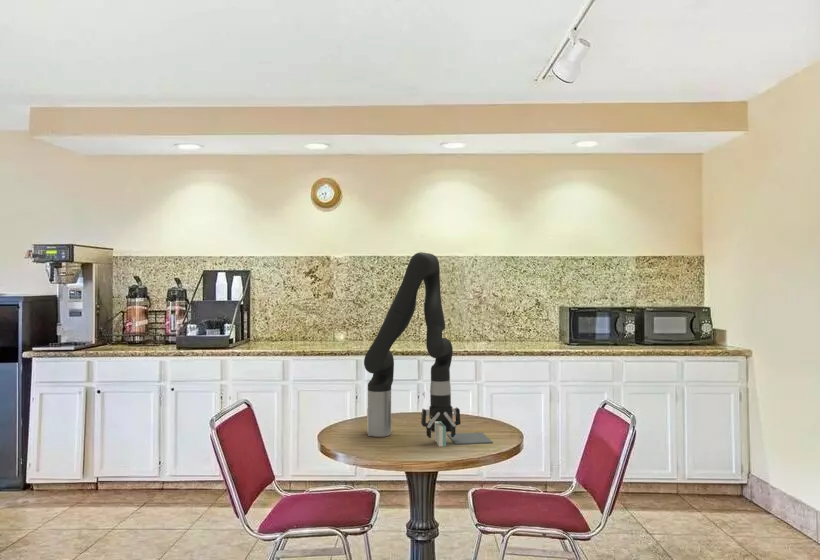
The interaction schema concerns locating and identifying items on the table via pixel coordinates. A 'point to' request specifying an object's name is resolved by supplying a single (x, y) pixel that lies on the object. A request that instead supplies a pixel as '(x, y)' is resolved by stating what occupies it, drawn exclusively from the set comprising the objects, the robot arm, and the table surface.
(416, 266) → the robot arm
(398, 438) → the table surface
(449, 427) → the mug
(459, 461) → the table surface
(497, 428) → the table surface
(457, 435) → the mat
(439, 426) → the block
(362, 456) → the table surface
